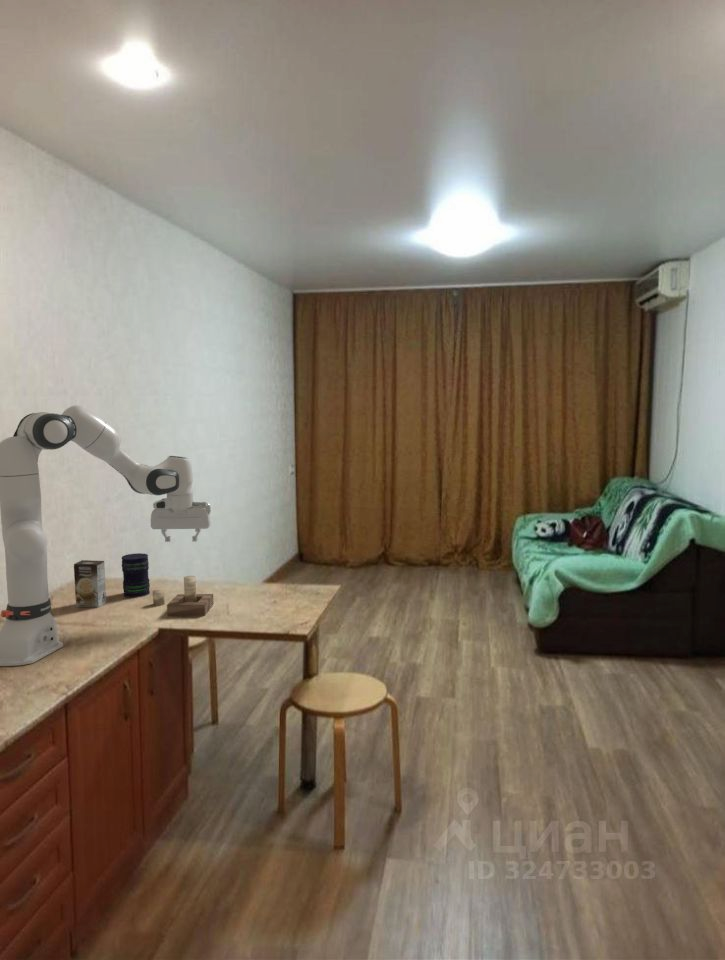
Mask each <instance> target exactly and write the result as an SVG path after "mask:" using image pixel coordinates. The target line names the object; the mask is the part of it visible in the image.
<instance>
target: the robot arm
mask: <svg viewBox="0 0 725 960" xmlns="http://www.w3.org/2000/svg"><path fill="white" fill-rule="evenodd" d="M69 442H74V443H75V444H76V445H77V446H79V447H80V448H81V449H83V450H84V451H86V452H87V453H89V454H90V455H91V456H94V457H95V458H97V459H100V460H102V461H104V462H105V463H106V464H108V465H109V466H110V467H112V468H113V470H115V471H117V472H118V473H119V474H120V475H121V476H122V477H123V478H124V479H125V480H126V483H127V484H128V485H129V487H130V489H132V491H134V492H136V493H137V494H140V495H141V494H143V495H151V496H162V495H166V497H165V498H161V499H159V500H156V501H155V502H153V503H152V507H153V510H152V511H151V513H150V528H151V529H152V530H161V531H160V532H161V534H162V536H163V537H164V542H165V543H169V542H171V536H170V535H168V534H167V531H168V530H195V533H196V534H195V535H193V536H192V542H198V539H199V538H198V536H199V535H200V533H201V530H204V529H205V530H206V529H208V528H210V526H211V517H210V514H211V506H210V504H209V503H208V502H205V501H202V502H200V501H199V502H198V501H194V492H193V489H192V486H193V485H192V484H193V468H192V464H191V463H192V462H191V461H190V459H189V458H187V457H184V456H178V455H177V456H176V455H169V456H167V457H166V459H164V460H163V461H161V462H160V463H159V464H156V465H154V466H152V465H147V464H143V463H138V461H137V462H136V461H135V460H134V459H133V458H132V457H131V456H129V455H128V454H127V453H126V452H124V451H123V449H121V446H120V445H121V436H120V433H118V431H116V429H115V428H114V427H113V426H112V425H111V424H109V423H108V422H107V421H106V420H105V419H103V418H101V417H100V416H99V415H97V414H95V413H94V412H92V411H91V410H89V409H88V408H86V407H83V406H81V405H72V406H70V407H68V408H67V407H66V409H65V410H64V411H63V412H62V413H61V414H60V413H54V412H53V413H50V412H44V411H41V412H40V411H39V412H32V413H29V414H26V415H25V416H23V418H21V420H20V421H19V422H18V425H17V427H16V430H15V431H14V433H13V435H12V436H9V437H7V438H5V439H3V440H1V441H0V520H1V521H0V522H1V523H0V524H1V533H2V535H1V537H2V541H3V546H4V556H5V558H4V559H5V574H6V575H5V576H6V577H5V578H6V590H7V604H6V609H5V610H4V609H2V610H1V612H0V617H1V618H5V620H4V622H3V624H2V626H1V628H0V667H11V666H12V667H13V666H14V667H15V666H25V665H30V664H33V663H35V662H38V661H39V660H40V659H41V660H42V659H43V658H45V657H46V656H48V655H50V654H52V653H54V652H56V651H57V650H59V649H61V648H63V647H64V642H62V641H60V637H59V632H58V624H57V621H56V618H55V617H54V616H53V615H52V613H51V612H52V602H51V599H50V597H49V582H48V581H49V580H48V546H47V545H48V543H47V536H46V533H45V532H44V530H43V520H42V519H43V517H42V493H41V481H40V470H39V464H38V462H39V457H40V454H41V452H42V451H43V450H44V451H45V450H49V451H51V450H58V449H61V448H62V447H64V446H66V445H67V444H68V443H69Z"/></svg>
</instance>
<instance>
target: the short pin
mask: <svg viewBox="0 0 725 960" xmlns="http://www.w3.org/2000/svg"><path fill="white" fill-rule="evenodd" d="M152 603H153V605H152V606H155V607H157V606H159V607H160V606H164V605H165V604H166V603H165V590H164V589H160V588H159V589H154V590H152Z"/></svg>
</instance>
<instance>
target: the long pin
mask: <svg viewBox="0 0 725 960" xmlns="http://www.w3.org/2000/svg"><path fill="white" fill-rule="evenodd" d="M183 587H184V588H183V589H184V590H183V592H184V593H183V594H185V602H197V601H196V594H197V583H196V576H195V575H187V576H183Z"/></svg>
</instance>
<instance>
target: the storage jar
mask: <svg viewBox="0 0 725 960" xmlns="http://www.w3.org/2000/svg"><path fill="white" fill-rule="evenodd" d="M149 564H150V563H149V555H148V554H147V553H143V552H141V553H138V552H137V553H128V554H125V555H124V554H123V555H122V556H121V570H122V575H123V576H122V578H123V580H122V588H123V589H122V590H123V596H124V597H126V598H141V597H146V596H148V595H149V594H150V593H151V590H150V586H151V585H150V578H149V569H150V568H149Z"/></svg>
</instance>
